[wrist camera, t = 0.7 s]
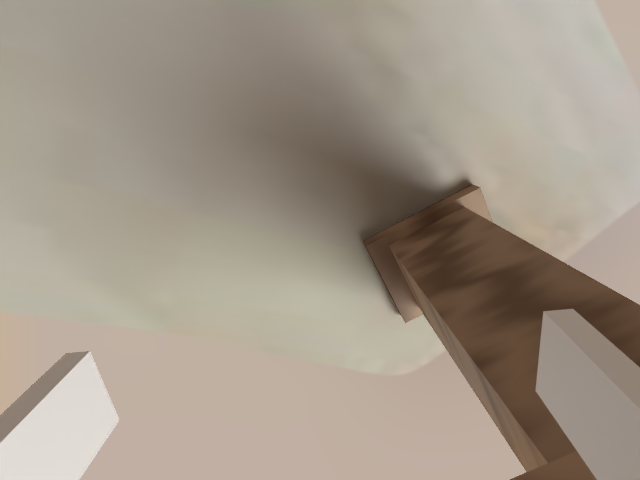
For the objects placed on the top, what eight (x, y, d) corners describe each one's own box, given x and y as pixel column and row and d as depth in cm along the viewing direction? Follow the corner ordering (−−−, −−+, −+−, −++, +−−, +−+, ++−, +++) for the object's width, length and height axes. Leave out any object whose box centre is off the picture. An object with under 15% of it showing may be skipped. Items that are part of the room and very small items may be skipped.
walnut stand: (397, 317, 40) (574, 658, 15) (358, 243, 37) (505, 525, 12) (506, 263, 39) (892, 538, 14) (477, 182, 36) (915, 353, 11)
